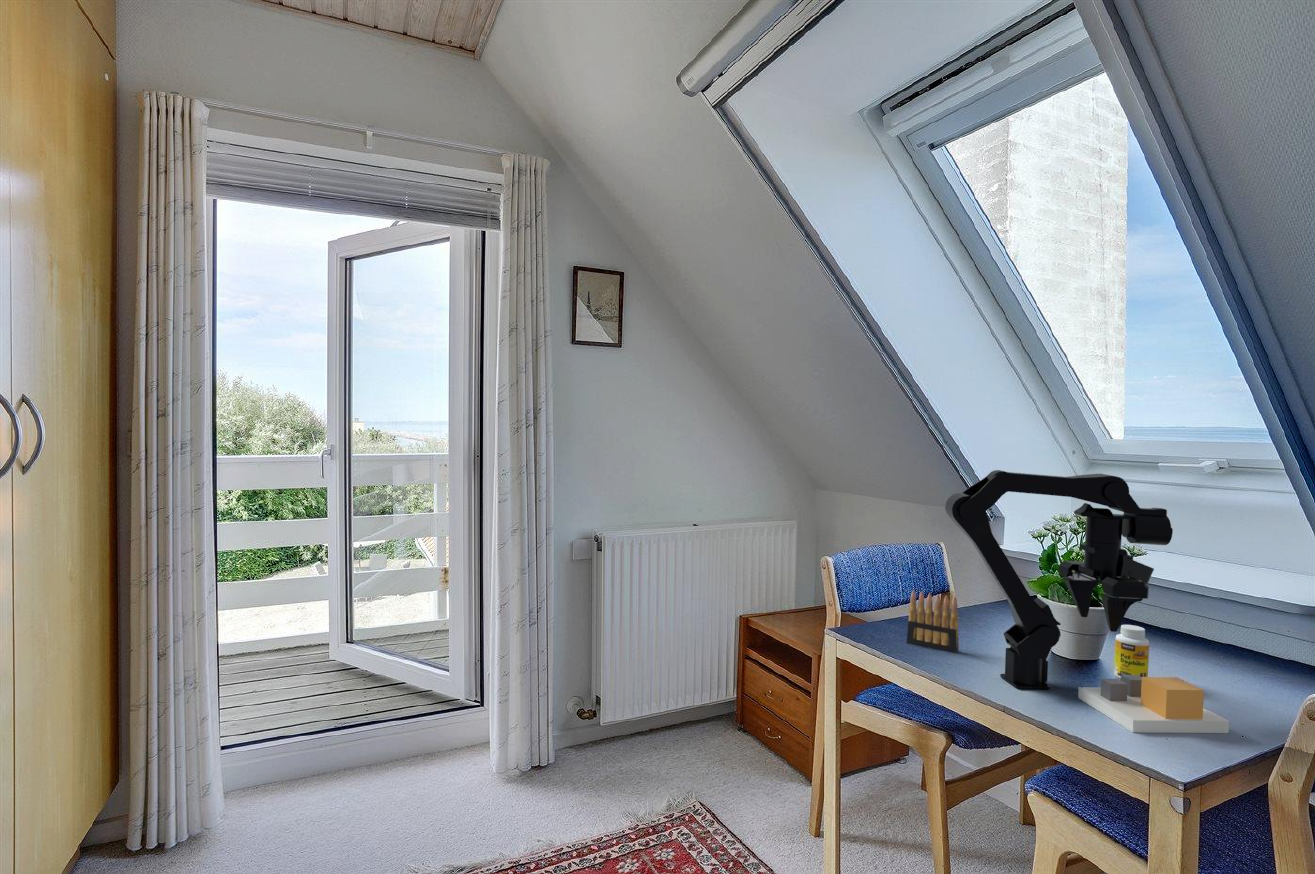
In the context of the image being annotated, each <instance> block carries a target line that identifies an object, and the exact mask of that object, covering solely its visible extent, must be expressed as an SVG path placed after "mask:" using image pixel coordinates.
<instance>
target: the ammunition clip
mask: <svg viewBox="0 0 1315 874" xmlns="http://www.w3.org/2000/svg"><path fill="white" fill-rule="evenodd" d="M932 596H933V595H932V593H931V592H929V593H928V595H927V599H926V607H925V595H924V592H923V591H922V590H921V591H920V592H919V597H918V603H917V596H916V591H915V590H914V589H913V590H912V591H911V595H910V601H909V608H908V621H907V629H906V630H907V631H906V632H907V633H906V641H905V642H906V644H908V645H909V644H910V645H914V646H917V647H918V646H919V647H924V648H928V649H933V650H936V651H937V650H938V651H943V652H946V653H947V652H948V653H953V654H957V653H958V652H959V614H958V613H959V612H958V601H957V598H956V596H954V597H953V599H952V600H951V601H952V603H951V607H950V602H949V600H950V599H949V597H948V595H945V597H944V598H943V604H942V608H941V602H942V601H941V597H940V594H939V593H937V595H936V596H935V600H934V607H933V597H932ZM933 608H934V610H933ZM950 608H951V609H950Z"/></svg>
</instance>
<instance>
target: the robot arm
mask: <svg viewBox="0 0 1315 874" xmlns="http://www.w3.org/2000/svg"><path fill="white" fill-rule="evenodd" d="M1007 492H1011V493H1021V494H1032V495H1033V494H1034V495H1043V496H1057V497H1068V498H1074V499H1077V500H1078V499H1079V500H1081V501H1086V502H1084V503H1083V504H1082V505H1081V506H1080V507H1079V508H1077V509H1075V510H1074V511H1073V513H1074V514H1075V515H1076V516H1079V517H1083V518H1085V519H1086V521H1085V537H1084V538H1085V539H1084V543H1079V550H1081V551H1084V556H1083V561H1080V560H1063V561H1062V562H1060V564H1059V565H1058V575H1060V576H1062V577H1061V578H1062V580H1063V582H1064V583H1065V584H1066V588H1067V589H1068V591H1069V593H1070V596H1071V598H1072V600H1073V602H1074V604H1075V606H1076V608H1077V611H1078V613H1079V615H1080V617H1081V618H1087V617H1088V616H1089V612H1090V607H1091V606H1090V605H1091V600H1092V594H1093V590H1094V589H1095V588H1096V587H1097V586H1098V585H1099V584H1100V585H1101V589H1102V593H1100V597H1101V602H1102V606H1103V611H1104V613H1105V614H1104V615H1105V619H1106V622H1107V627H1108V629H1109V631H1110V632H1112V633H1113V632H1114V633H1115V632H1116V633H1117V632H1118V630H1119V627H1121V625H1122V621H1123V619H1124V618H1125V615H1126V613H1127V612H1128V610H1129V608H1130V607H1131V606H1132V605H1134V604H1135V603H1137V602H1138V603H1139V602H1142V601H1143V600H1144V599H1149V596H1150V595H1149V592H1150V587H1149V586H1148V584H1149V582H1150V579H1151V577H1152V574H1153V573H1154V570H1155V568H1153V567H1152V566H1149V565H1146V564H1144V563H1141V562H1139V561H1136V560H1134V556H1133V555H1131V554H1128V553H1129V552H1128V551H1127V549H1125V548H1122V540H1123V539H1122V537H1123V538H1126V541H1127V542H1129V544H1139V545H1141V544H1142V545H1153V546H1155V545H1156V546H1167V545H1169V544H1170V543H1171V541H1172V538H1173V533H1174V532H1173V527H1172V525H1171V524H1172V523H1171V520H1170V518H1169V517H1168V510H1167V509H1166V508H1162V507H1150V508H1146V507H1145V508H1144V507H1140V506H1139V505H1138V503H1136V501H1135V500H1134V498H1133V496H1132V495H1131V494H1130V487H1129V485H1128V483H1127V481H1126V480H1124V478H1122V477H1119V476H1118V475H1117V476H1116V475H1111V474H1106V473H1105V474H1104V473H1089V474H1080V475H1079V474H1078V475H1072V476H1070V475H1069V476H1061V475H1060V476H1058V475H1045V474H1036V473H1025V472H1024V473H1023V472H1022V473H1021V472H1011V471H1005V470H1000V469H996V470H992V471H991V472H989V473H988V474H987V475H986V476H985V477H983V478H982V479H980V480H978V481H977V482H975V483H974V484H972V485H971V486H969V487H968V488H966V489H965V490H963V491H962V492H957V493H954V494H952V495H951V496H950V497H948V498H947V500H946V502H945V504H944V505H945V506H944V510H945V513H946V515H947V516H948V517H949V518H950V520H951V521H952V523H954V524H955V525H956V527H957V528H959V529H960V530H961V532H962V533H963V534H964V535H965V536H966V537H967V539H969V540H970V542H971V544H972V545H973V546H974V548H975V549H976V551H977V553H978V554H979V556H980V557H981V559H982V561H983V562H984V564H985V566H986V567H987V569H988V570H989V572H990V574H991V576H992V577H993V578H994V581H996V583H997V585H998V587H999V589H1000V590H1001V592H1002V593H1003V595H1004V596H1005V598H1006V600H1007V602H1008V604H1009V608H1010V612H1011V616H1012V618H1013V621H1014V623H1015V624H1013V625H1012V626H1010V627H1009V628H1008V629H1007V630H1005V631H1004V632H1003V637H1004V639H1005V642H1006V644H1007V645H1008V646H1009V647H1005V655H1004V656H1005V660H1004V661H1005V662H1004V673H1000V674H999V675H1000V678H1001V679H1003V680H1004V681H1006V682H1008V683H1009V684H1010V685H1011V686H1013V687H1014V688H1016V689H1024V690H1025V689H1028V690H1030V689H1031V690H1032V689H1034V690H1035V689H1036V690H1038V689H1039V690H1045V689H1046V690H1049V689H1051V685H1050V684H1048V677H1049V661H1048V660H1047V659H1048V656H1049V655H1050V652H1051V650H1052V648H1053V647H1055V646H1057V644H1058V642H1059V641H1060V638H1061V630H1060V628H1059V626H1061V622H1059V621H1058V620H1057V619H1056V618H1055V616H1054V614H1053V612H1052V609H1051V608H1050V605H1049V604H1047V603H1046V602H1044V601H1043V600H1042V599H1040V598H1039V597H1037V598H1035V599H1033V598H1032V596H1031V594H1030V593H1029V591H1028V590H1027V588H1026V587H1025V585H1024V583H1023V582H1022V580H1021V578H1020V576H1019V575H1018V574H1017V572H1016V570H1015V568H1014V567H1013V565H1012V563H1011V562H1010V561H1009V559H1008V557H1007V556H1006V554H1005V552H1004V551H1003V549H1002V548H1001V546H1000V544H999V543H998V541H997V540H996V538H995V535H994V534H993V532H992V527H991V523H990V520H989V517H988V514H987V511H988V510H990V508H992V507H993V506H994V505H995V504H996V503H997V502H998V500H1000V498H1002V497H1003V496H1004V495H1005V494H1006V493H1007ZM1087 502H1090V503H1093V504H1097V505H1100V506H1101V505H1102V506H1105V507H1108V508H1105V507H1104V508H1103V507H1093V506H1092V505H1091V504H1089V503H1087ZM1112 510H1115V511H1118V512H1123V514H1122V513H1121V514H1120V513H1119V514H1118V513H1113V512H1112Z"/></svg>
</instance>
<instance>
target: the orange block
mask: <svg viewBox="0 0 1315 874" xmlns="http://www.w3.org/2000/svg"><path fill="white" fill-rule="evenodd" d="M1204 695H1205V690H1204V689H1202V688H1201V687H1199V686H1198V687H1197V686H1196V685H1194V684H1192V683H1190V682H1188V681H1185V680H1184V679H1182V678H1179V677H1177V676H1148V677H1142V684H1141V705H1142V706H1144V707H1146V708H1148V709H1149V710H1151V711H1153V712H1155V713H1156V714H1158V715H1160V716H1162V717H1163V718H1165V719H1203V708H1204Z"/></svg>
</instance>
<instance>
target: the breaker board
mask: <svg viewBox="0 0 1315 874" xmlns="http://www.w3.org/2000/svg"><path fill="white" fill-rule="evenodd" d="M1141 684H1142V677H1140V676H1138V675H1121V679H1119V678H1100V686H1099V687H1098V686H1096V687H1095V686H1093V687H1092V686H1091V687H1090V686H1083V687H1082V686H1080V687H1079V686H1078V693H1077V695H1078V699H1079V700H1081V701H1082V702H1084V703H1085V704H1087V705H1089V706H1090V707H1092V708H1093V709H1095V710H1097V711H1098V712H1099V713H1101V714H1103V715H1105V716H1106V717H1108V718H1109V719H1111V720H1113V721H1114V722H1115V723H1117V724H1119V725H1120V726H1122V727H1123V728H1125V729H1127V730H1129V731H1130V732H1131V733H1141V734H1142V733H1146V734H1147V733H1151V734H1152V733H1154V734H1155V733H1156V734H1157V733H1161V734H1167V733H1169V734H1171V733H1173V734H1176V733H1177V734H1229V731H1230V730H1229V728H1230V721H1229V720H1228V719H1226V718H1224V717H1222V716H1220V715H1218V714H1216V713H1214V712H1212V711H1210V710H1208V709H1206V708H1205V707H1203V719H1165V718H1163V717H1162V716H1160V715H1158V714H1156V713H1155V712H1153V711H1151V710H1149V709H1148V708H1146V707H1144V706H1142V705H1141Z"/></svg>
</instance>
